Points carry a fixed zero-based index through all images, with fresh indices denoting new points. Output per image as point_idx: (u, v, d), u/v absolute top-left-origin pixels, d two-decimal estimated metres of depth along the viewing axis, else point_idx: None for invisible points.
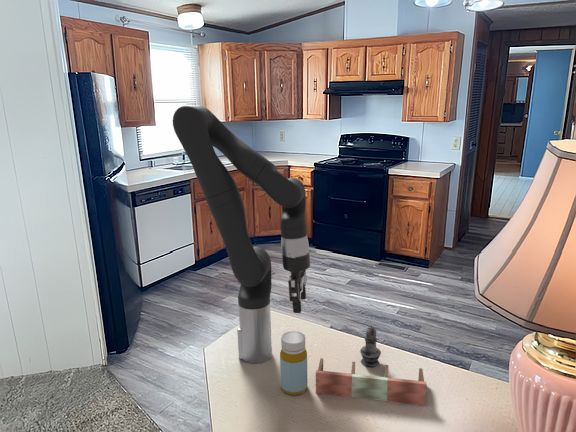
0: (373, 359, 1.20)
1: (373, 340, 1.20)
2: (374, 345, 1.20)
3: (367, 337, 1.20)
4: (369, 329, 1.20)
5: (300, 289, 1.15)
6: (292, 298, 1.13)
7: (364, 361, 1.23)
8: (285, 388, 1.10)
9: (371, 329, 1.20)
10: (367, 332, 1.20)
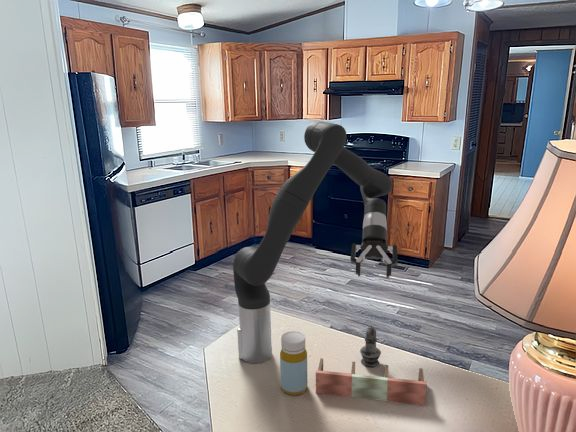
0: (373, 359, 1.20)
1: (373, 340, 1.20)
2: (374, 345, 1.20)
3: (367, 337, 1.20)
4: (369, 329, 1.20)
5: None
6: None
7: (364, 361, 1.23)
8: (285, 388, 1.10)
9: (371, 329, 1.20)
10: (367, 332, 1.20)
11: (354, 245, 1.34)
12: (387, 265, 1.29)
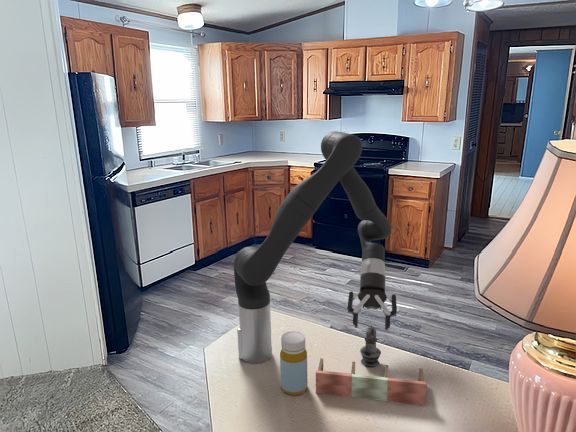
0: (373, 359, 1.20)
1: (373, 340, 1.20)
2: (374, 345, 1.20)
3: (367, 337, 1.20)
4: (369, 329, 1.20)
5: None
6: None
7: (364, 361, 1.23)
8: (285, 388, 1.10)
9: (371, 329, 1.20)
10: (367, 332, 1.20)
11: (351, 294, 1.28)
12: (386, 317, 1.23)
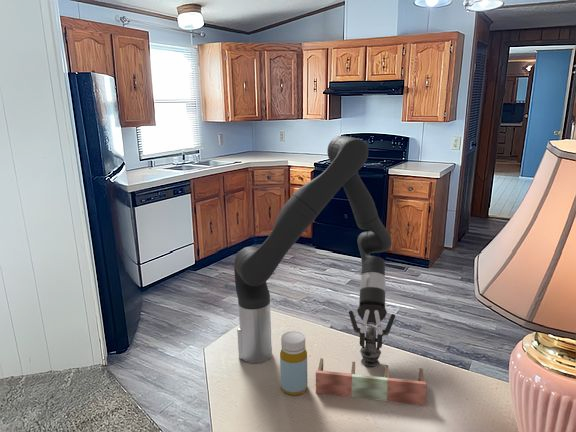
0: (373, 359, 1.20)
1: (373, 340, 1.20)
2: (374, 345, 1.20)
3: (367, 337, 1.20)
4: (369, 329, 1.20)
5: None
6: None
7: (364, 361, 1.23)
8: (285, 388, 1.10)
9: (371, 329, 1.20)
10: (367, 332, 1.20)
11: (351, 313, 1.24)
12: (378, 336, 1.20)
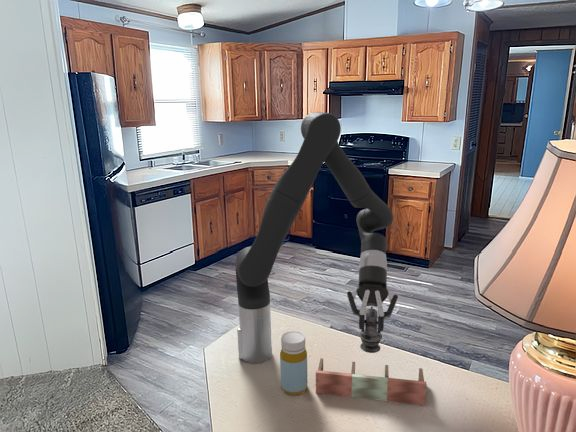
0: (374, 343, 1.10)
1: (374, 322, 1.10)
2: (375, 328, 1.10)
3: (367, 319, 1.10)
4: (369, 310, 1.10)
5: None
6: None
7: (364, 346, 1.13)
8: (285, 388, 1.10)
9: (372, 310, 1.10)
10: (367, 314, 1.10)
11: (350, 293, 1.14)
12: (379, 318, 1.10)
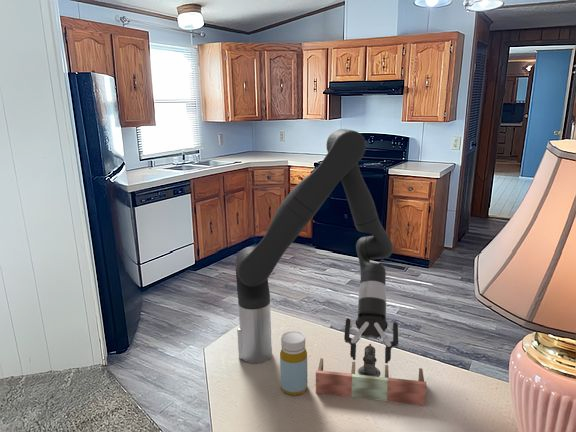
0: None
1: (372, 360, 1.11)
2: (373, 365, 1.11)
3: (366, 357, 1.11)
4: (368, 348, 1.11)
5: None
6: None
7: None
8: (285, 388, 1.10)
9: (370, 348, 1.10)
10: (365, 351, 1.11)
11: (348, 321, 1.15)
12: (386, 348, 1.10)
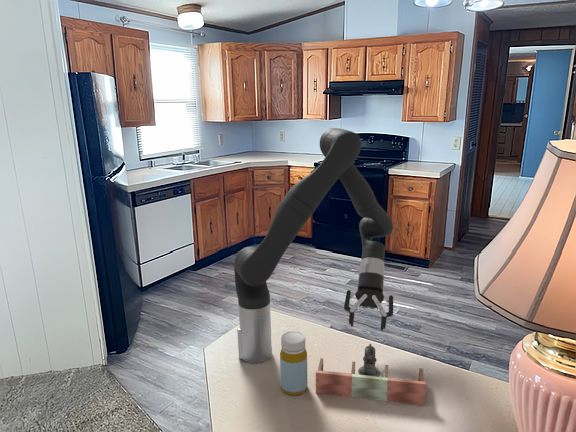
0: None
1: (372, 360, 1.11)
2: (373, 365, 1.11)
3: (366, 357, 1.11)
4: (368, 348, 1.11)
5: None
6: None
7: None
8: (285, 388, 1.10)
9: (370, 348, 1.10)
10: (366, 351, 1.11)
11: (349, 292, 1.28)
12: (382, 318, 1.23)
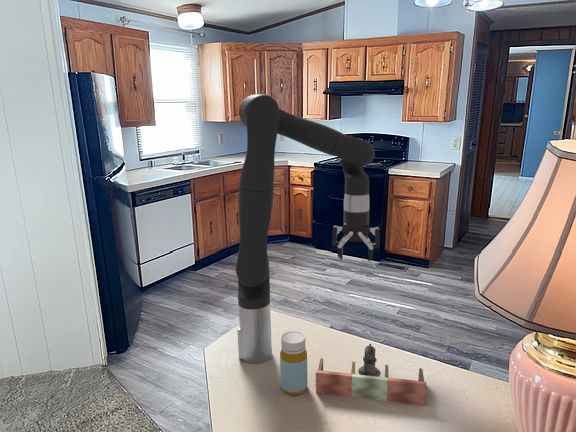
0: None
1: (372, 360, 1.11)
2: (373, 365, 1.11)
3: (366, 357, 1.11)
4: (368, 348, 1.11)
5: (368, 238, 1.30)
6: None
7: None
8: (285, 388, 1.10)
9: (370, 348, 1.10)
10: (366, 351, 1.11)
11: (335, 230, 1.28)
12: (369, 251, 1.28)
